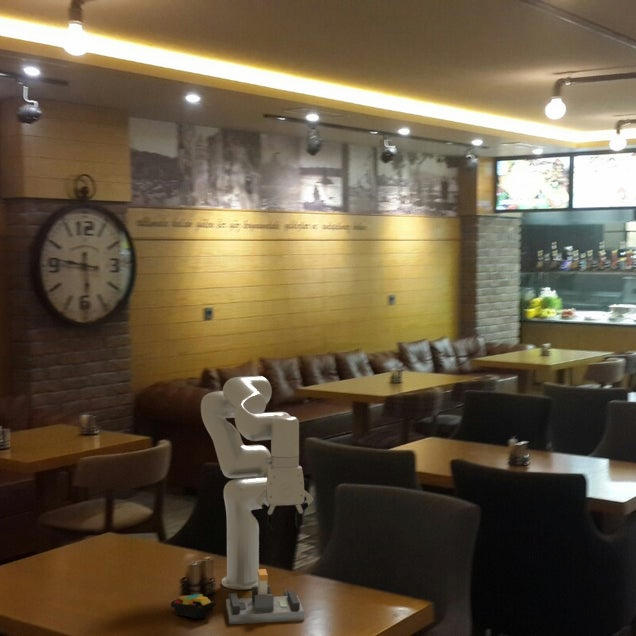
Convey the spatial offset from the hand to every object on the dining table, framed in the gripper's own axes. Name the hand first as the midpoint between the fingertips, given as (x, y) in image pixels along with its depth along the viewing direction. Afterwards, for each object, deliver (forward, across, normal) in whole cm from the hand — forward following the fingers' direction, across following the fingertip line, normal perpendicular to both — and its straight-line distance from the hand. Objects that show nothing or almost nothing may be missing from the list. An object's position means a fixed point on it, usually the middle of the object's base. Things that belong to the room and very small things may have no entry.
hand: (284, 526), depth 260 cm
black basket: (+24, -25, +2) cm, 35 cm away
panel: (+24, -6, 0) cm, 24 cm away
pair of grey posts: (+24, -6, +4) cm, 25 cm away
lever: (+20, -6, 0) cm, 21 cm away
